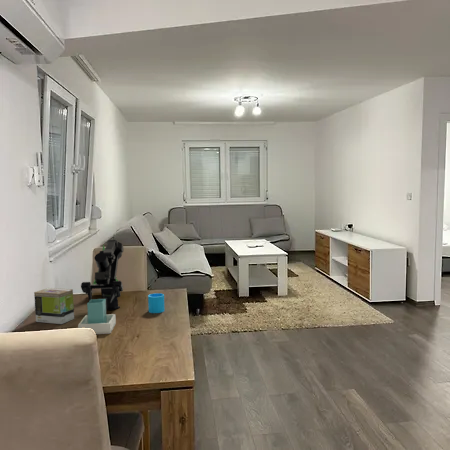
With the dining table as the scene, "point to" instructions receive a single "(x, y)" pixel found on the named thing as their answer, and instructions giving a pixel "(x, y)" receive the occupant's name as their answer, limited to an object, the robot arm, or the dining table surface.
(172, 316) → the dining table surface
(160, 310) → the mug
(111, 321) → the white crate
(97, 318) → the teal crate
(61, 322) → the tea box
